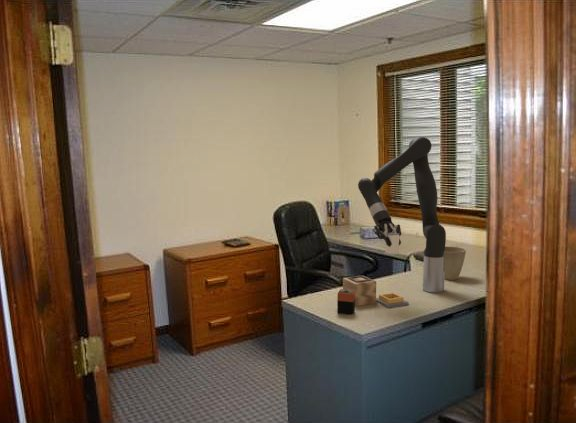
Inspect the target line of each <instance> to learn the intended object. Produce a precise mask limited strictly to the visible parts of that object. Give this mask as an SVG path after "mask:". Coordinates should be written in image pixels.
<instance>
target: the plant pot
mask: <svg viewBox="0 0 576 423" xmlns="http://www.w3.org/2000/svg"><path fill="white" fill-rule="evenodd" d="M466 252H467V249H466V248H464V247H458V246H445V251H444V256H443V271H444V272H445V279H444V280H448V281H455V280H458V279H459V277H460V275H461V271H462V269H463V265H464V264H465V263H464V262H465V258H466Z"/></svg>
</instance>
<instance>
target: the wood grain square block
mask: <svg viewBox="0 0 576 423" xmlns="http://www.w3.org/2000/svg"><path fill="white" fill-rule="evenodd" d="M342 289H345V291H349V290H352V291H354V292H355V307H357V306H362V305H363V306H364V305H369V304H370V305H371V304H375V303H377V302H376V298H377V280H374V279H372V278H371V277H369V276H368V277H367V276H365V275H357V276H355V275H354V276H348V277H342Z"/></svg>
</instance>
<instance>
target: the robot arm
mask: <svg viewBox="0 0 576 423" xmlns="http://www.w3.org/2000/svg"><path fill="white" fill-rule="evenodd" d="M431 150H432V142H431V140H430V139H429V138H427V137H424V136H417V137H414V138H412V139H411V140H410V142H409V144H408V148H407V149H406V150H405V151H403V152H402V153H401V154H399V155H398V156H396V157H394V158H393V159H391V160H390V161H388V162H386V163H385V164H384V165H383V166H381V167H380V168H378V169H377V170H376V171H375V172H374V173H373V179H370V178H368V177H363V178H361V179H360V180H359V181H358V183H357V188H358V190H359V192H360V194H361V195H362V197H363V199H364V201H365V203H366V205H367V208H368V211H369V213H370V216H371V217H372V219H373V223H374V224H375V226H374V227H373V229H372V231H373V233H374V234H375V235H376V236H377V237H378V239H379V240H384V242H385V245H386V244H387V245H388V247H390V246H391V245H392V243H391V241H390V239H389V237H388V235H387V233H390V232H394V233H399V246H401V244H402V240H401V239H400V237H401V235H402V229H401V225H400V223H399V224H397V225H396V224H394V222H393V221H392V217H391V215H390V213H389V211H388V209H387V207H386V205H385V204H384V202H383V200H382V198H381V197H380V195H379V193H378V192H379V190H380V189H381V188H382V187H384V186H383V185H385V184H386V183H387V182H388V181H390V180H391V179H392V178H394V177H395V176H396V175H398V173H400V172H401V171H402V170H404V169H405V168H406V167H408V166H409V165H411V164H412V165H413V172H414V180H415V181H414V183H415V189H416V194H417V200H418V203H419V209H420V211H421V219H422V220H421V221H422V222H421V225H422V234H423V236H424V238H425V248H424V250H423V269H422V270H423V272H422V291H424V292H428V293H442V292H444V291H445V280H446V279H445V272H444V271H443V256H444V251H445V247H446V242H447V234H446V229H445V228H444V226H442V225H441V224H440V221H439V217H438V212H437V211H438V210H437V206H438V190H437V184H436V180H435V176H434V174H433V172H432V169H431V168H430V163H429V156H428V155H429V153H430V152H431Z"/></svg>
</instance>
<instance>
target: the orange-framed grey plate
mask: <svg viewBox="0 0 576 423" xmlns="http://www.w3.org/2000/svg"><path fill="white" fill-rule="evenodd" d="M376 303H377V304H379V305H381V306H382V307H385V308H386V309H390V308H396V307H402V306H403V307H404V306H409V305H410V304H409V303H410V302H408V301H407V300H405V299H404V296H401V295H399V294H397V293H395V292H389V293H382V294H379V295H378V297H376Z"/></svg>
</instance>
